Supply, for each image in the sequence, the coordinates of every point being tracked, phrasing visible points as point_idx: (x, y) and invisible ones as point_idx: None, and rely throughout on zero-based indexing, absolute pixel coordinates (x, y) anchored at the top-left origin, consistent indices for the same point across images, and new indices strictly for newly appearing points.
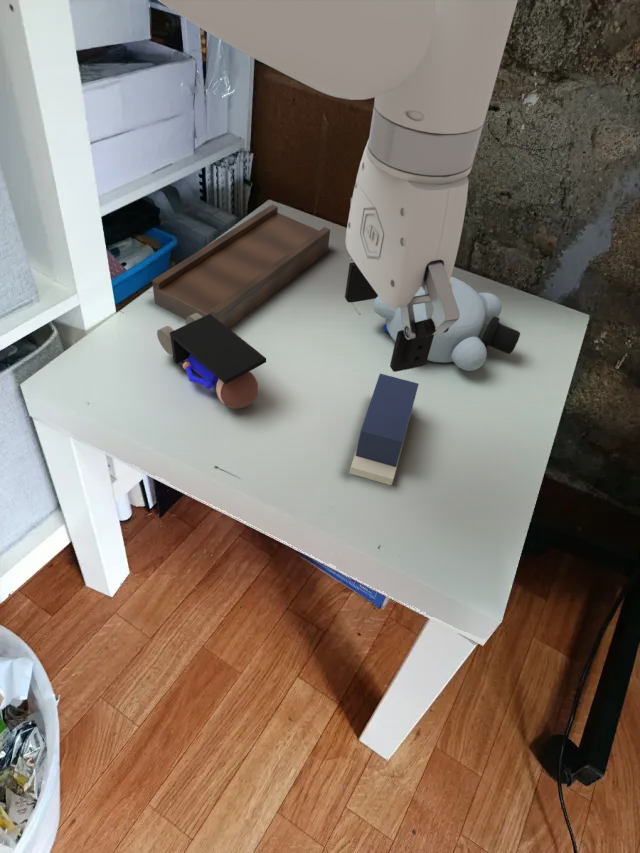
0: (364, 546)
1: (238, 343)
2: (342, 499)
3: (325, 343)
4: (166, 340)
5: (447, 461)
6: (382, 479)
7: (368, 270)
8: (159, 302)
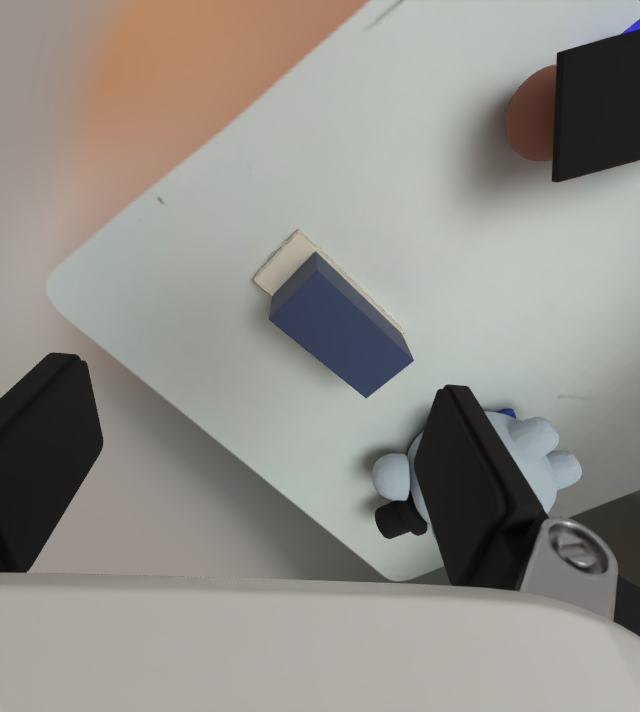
0: (166, 179)
1: (637, 144)
2: (258, 192)
3: (544, 325)
4: None
5: (266, 362)
6: (264, 267)
7: (154, 702)
8: None
